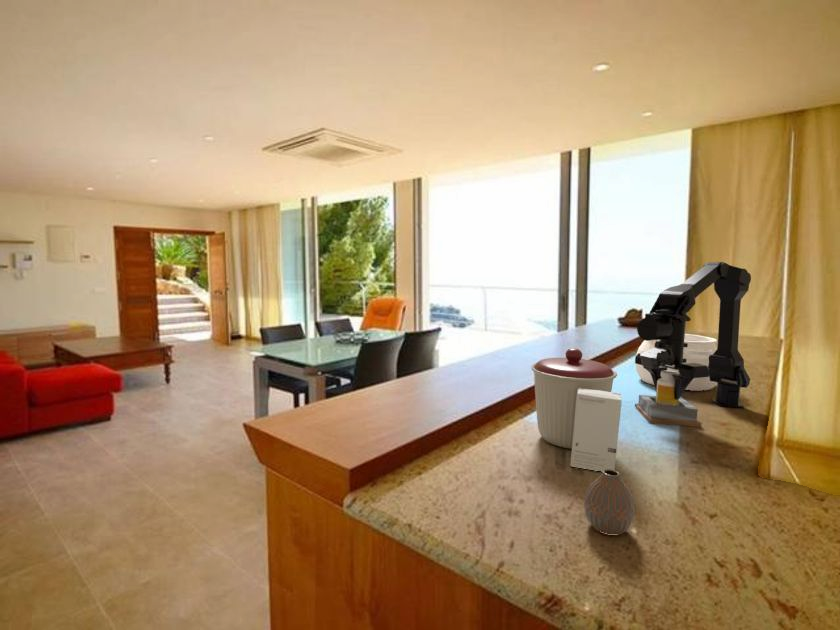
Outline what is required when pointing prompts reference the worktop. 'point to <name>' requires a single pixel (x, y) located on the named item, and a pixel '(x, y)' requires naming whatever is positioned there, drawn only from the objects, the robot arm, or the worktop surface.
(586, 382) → the canister
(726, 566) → the worktop surface
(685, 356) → the pot
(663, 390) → the supplement bottle
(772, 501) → the worktop surface
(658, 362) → the robot arm
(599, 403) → the skincare box
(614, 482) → the vase
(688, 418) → the socket board
